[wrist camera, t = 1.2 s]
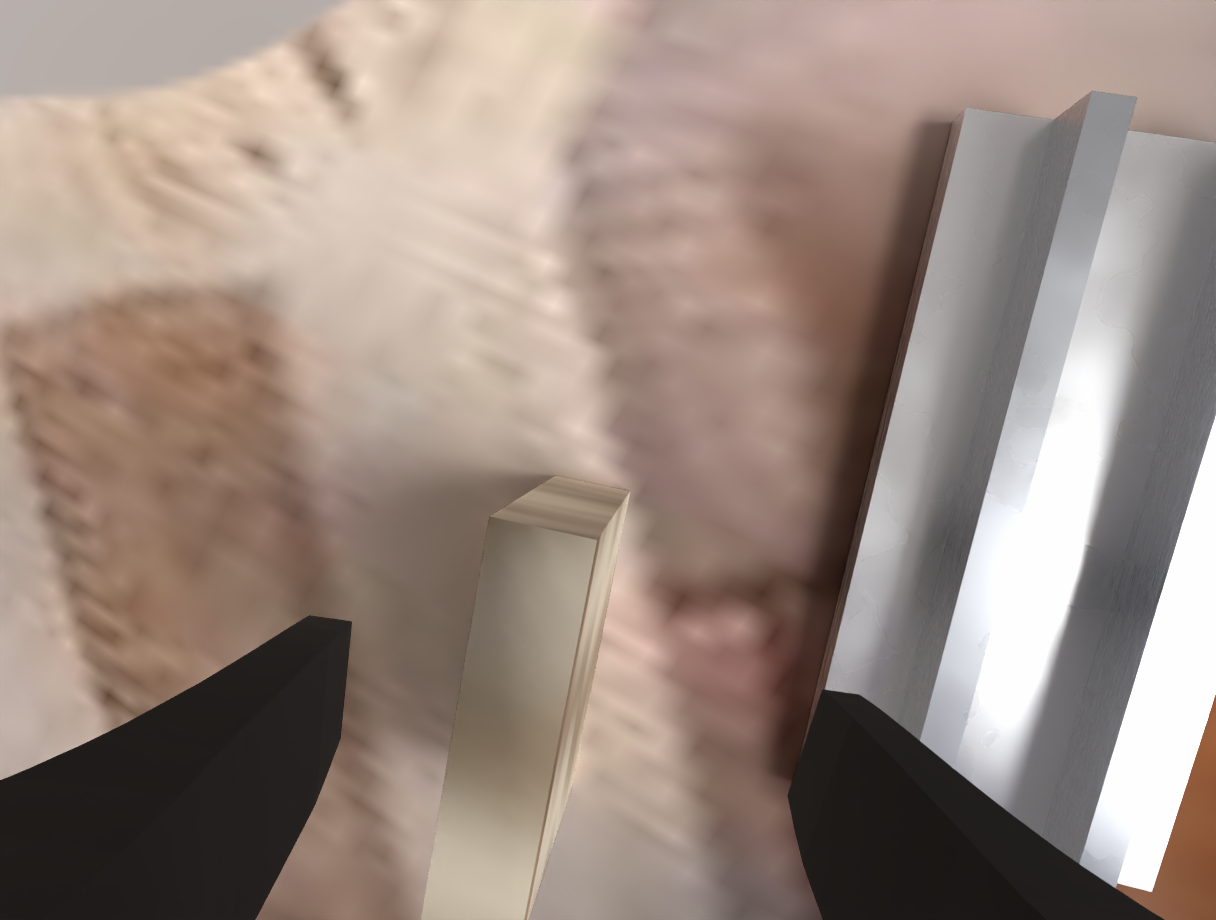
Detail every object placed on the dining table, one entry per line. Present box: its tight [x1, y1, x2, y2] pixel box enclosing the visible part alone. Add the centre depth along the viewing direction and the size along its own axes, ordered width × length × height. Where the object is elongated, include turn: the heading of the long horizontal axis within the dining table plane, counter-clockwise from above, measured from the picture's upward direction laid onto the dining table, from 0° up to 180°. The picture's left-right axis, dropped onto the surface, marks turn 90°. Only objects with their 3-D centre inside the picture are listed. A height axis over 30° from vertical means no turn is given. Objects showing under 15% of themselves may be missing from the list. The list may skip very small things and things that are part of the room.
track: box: [799, 91, 1216, 892], centre depth 19 cm, size 20×10×3 cm, turn 169°
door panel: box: [421, 475, 630, 920], centre depth 19 cm, size 10×2×7 cm, turn 169°
